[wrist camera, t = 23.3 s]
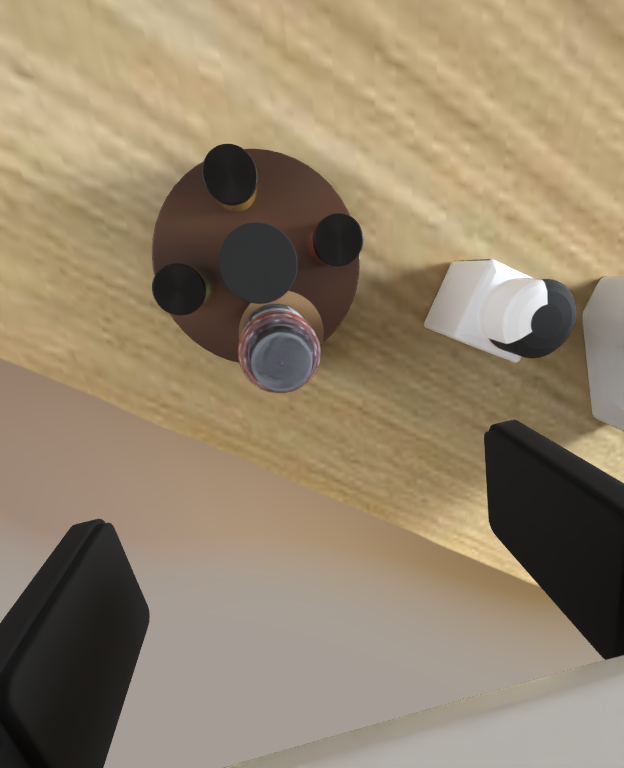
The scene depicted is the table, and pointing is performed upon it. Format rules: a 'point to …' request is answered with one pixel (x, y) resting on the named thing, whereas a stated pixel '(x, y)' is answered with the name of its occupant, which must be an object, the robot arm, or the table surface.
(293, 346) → the supplement bottle
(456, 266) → the medicine bottle
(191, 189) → the spice rack
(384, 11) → the table surface
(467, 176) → the table surface
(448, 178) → the table surface
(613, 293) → the white triangular tub
